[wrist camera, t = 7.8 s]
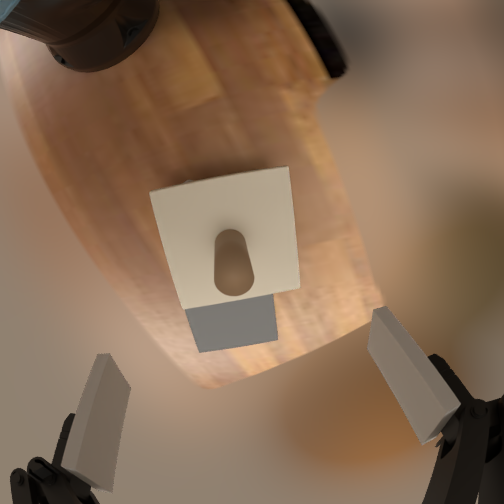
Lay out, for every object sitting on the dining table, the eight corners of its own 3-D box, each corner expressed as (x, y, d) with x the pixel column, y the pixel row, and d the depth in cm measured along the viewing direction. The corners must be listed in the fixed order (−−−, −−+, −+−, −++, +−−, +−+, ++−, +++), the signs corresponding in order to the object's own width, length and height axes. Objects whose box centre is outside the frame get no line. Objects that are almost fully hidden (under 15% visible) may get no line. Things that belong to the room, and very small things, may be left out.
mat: (177, 284, 38) (177, 286, 38) (269, 268, 39) (269, 270, 38) (199, 351, 44) (199, 352, 43) (277, 338, 44) (278, 339, 44)
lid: (151, 190, 25) (126, 213, 18) (286, 165, 26) (312, 178, 18) (183, 304, 30) (176, 353, 23) (298, 283, 31) (320, 327, 24)
